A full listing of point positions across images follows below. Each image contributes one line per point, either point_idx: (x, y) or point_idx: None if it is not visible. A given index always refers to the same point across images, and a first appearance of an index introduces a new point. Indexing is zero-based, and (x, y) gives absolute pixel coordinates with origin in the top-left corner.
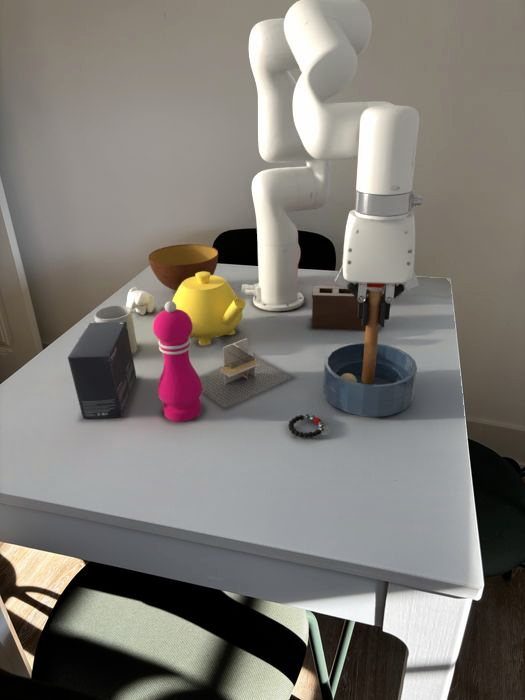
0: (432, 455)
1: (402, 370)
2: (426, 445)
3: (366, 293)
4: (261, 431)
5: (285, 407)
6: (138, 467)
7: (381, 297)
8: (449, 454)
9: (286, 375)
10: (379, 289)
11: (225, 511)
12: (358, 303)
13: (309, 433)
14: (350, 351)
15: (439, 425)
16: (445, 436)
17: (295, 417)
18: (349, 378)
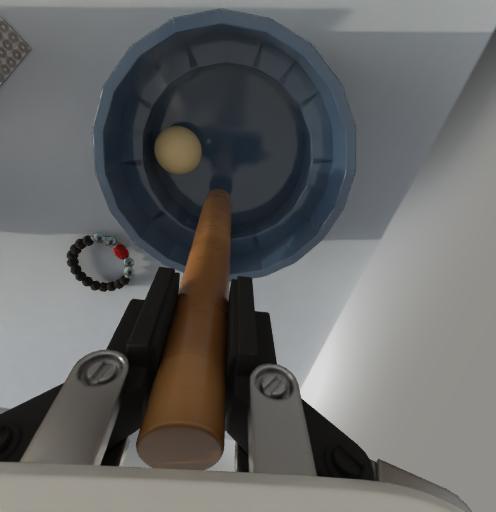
0: (294, 319)
1: (324, 130)
2: (294, 300)
3: (136, 391)
4: (24, 262)
5: (50, 191)
6: None
7: (236, 359)
8: (319, 317)
9: (13, 31)
10: (207, 450)
11: (30, 391)
12: (113, 335)
13: (108, 289)
14: (183, 36)
15: (336, 256)
16: (332, 282)
17: (75, 246)
18: (177, 167)
